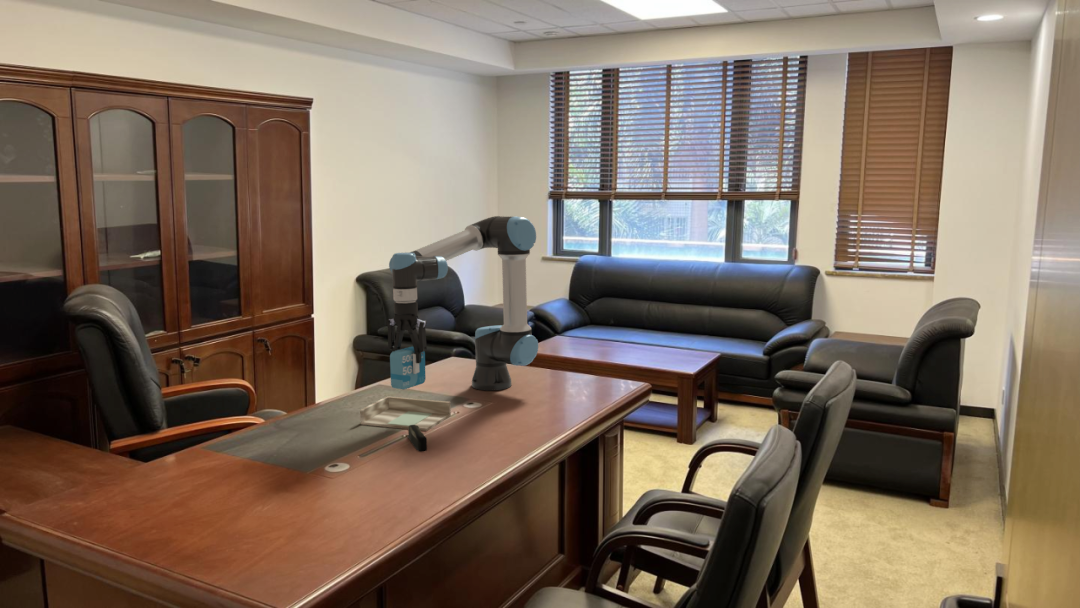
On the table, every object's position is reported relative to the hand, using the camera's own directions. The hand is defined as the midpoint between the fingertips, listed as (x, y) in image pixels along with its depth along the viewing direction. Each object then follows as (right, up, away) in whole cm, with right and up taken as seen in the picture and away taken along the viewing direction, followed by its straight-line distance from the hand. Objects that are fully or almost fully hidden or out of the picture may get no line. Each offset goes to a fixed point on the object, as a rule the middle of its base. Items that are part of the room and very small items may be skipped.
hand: (408, 372), depth 251 cm
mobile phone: (+6, -20, -20) cm, 29 cm away
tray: (-1, -16, +4) cm, 17 cm away
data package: (0, -5, +1) cm, 5 cm away
